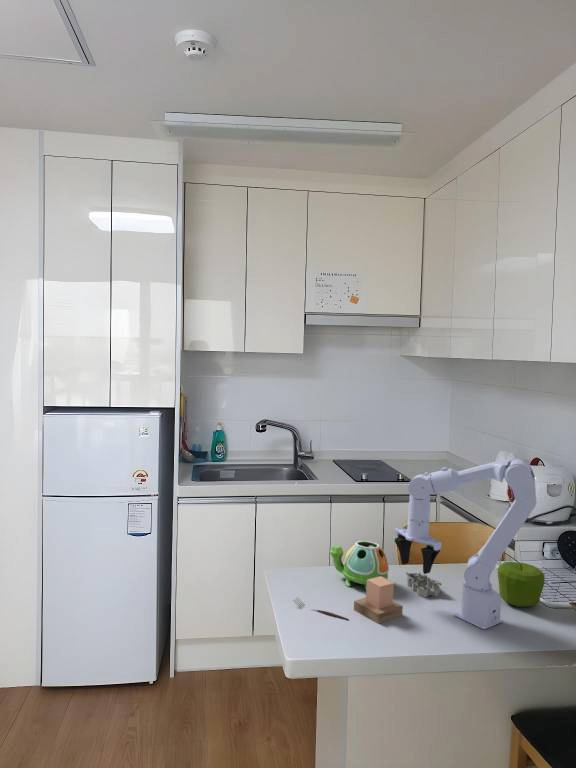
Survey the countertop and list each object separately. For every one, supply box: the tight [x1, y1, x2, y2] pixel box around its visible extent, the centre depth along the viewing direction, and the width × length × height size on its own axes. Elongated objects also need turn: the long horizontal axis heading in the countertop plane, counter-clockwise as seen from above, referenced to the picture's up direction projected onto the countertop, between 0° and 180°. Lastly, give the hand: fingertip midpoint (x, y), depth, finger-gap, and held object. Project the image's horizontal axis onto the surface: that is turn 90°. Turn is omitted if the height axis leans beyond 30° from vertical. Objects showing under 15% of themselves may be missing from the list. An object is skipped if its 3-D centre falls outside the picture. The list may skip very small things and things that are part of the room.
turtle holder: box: [329, 540, 390, 590], centre depth 175 cm, size 12×18×12 cm
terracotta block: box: [365, 576, 395, 609], centre depth 155 cm, size 5×5×6 cm
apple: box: [497, 561, 545, 608], centre depth 165 cm, size 12×12×11 cm
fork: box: [292, 596, 350, 621], centre depth 154 cm, size 3×16×2 cm, turn 60°
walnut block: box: [353, 596, 404, 624], centre depth 155 cm, size 9×9×3 cm
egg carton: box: [405, 571, 443, 598], centre depth 172 cm, size 11×8×4 cm
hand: (415, 568), depth 160 cm, fingers open, 7 cm apart
